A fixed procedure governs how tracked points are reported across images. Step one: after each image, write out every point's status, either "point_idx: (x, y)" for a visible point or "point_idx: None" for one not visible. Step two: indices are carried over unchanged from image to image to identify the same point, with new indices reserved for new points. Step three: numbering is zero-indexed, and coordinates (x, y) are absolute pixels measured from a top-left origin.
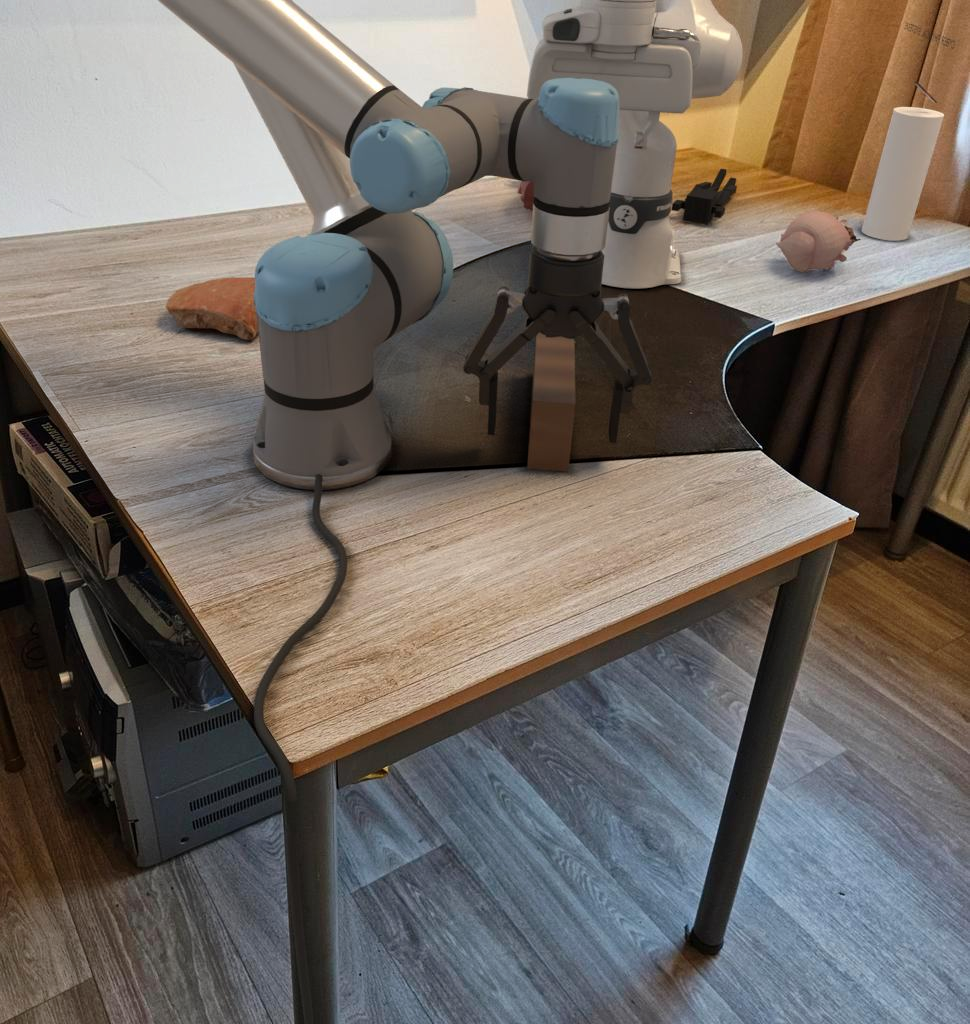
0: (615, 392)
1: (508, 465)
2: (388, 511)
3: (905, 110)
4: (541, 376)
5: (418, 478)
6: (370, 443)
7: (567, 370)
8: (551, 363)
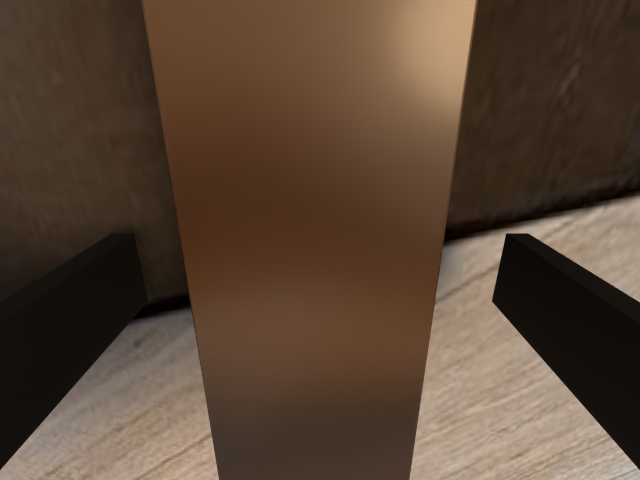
0: (633, 456)
1: None
2: (37, 454)
3: None
4: (229, 264)
5: None
6: None
7: (403, 152)
8: (282, 34)
